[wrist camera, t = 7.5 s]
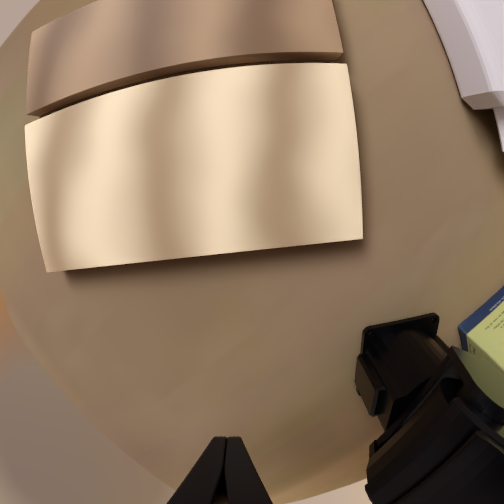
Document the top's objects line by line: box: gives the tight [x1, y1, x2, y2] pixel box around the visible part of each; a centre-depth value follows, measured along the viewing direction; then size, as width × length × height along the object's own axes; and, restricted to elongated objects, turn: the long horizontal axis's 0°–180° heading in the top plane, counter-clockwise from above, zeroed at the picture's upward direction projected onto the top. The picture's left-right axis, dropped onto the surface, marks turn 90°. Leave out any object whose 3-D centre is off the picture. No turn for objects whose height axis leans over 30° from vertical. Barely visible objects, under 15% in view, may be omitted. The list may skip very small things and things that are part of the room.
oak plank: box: [25, 63, 363, 272], centre depth 16 cm, size 20×10×2 cm, turn 96°
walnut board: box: [26, 0, 343, 116], centre depth 13 cm, size 20×7×2 cm, turn 96°
